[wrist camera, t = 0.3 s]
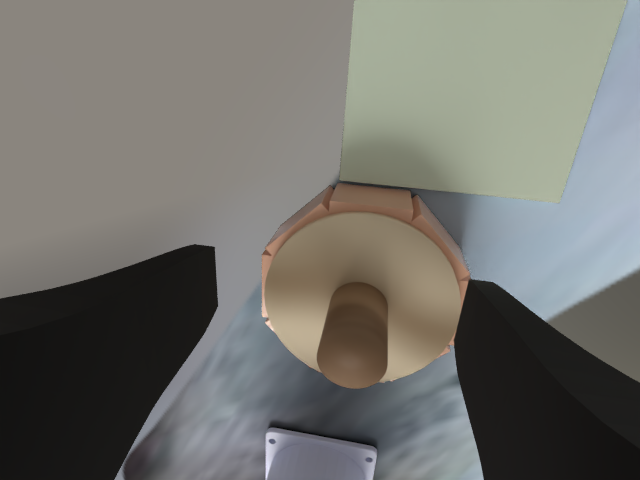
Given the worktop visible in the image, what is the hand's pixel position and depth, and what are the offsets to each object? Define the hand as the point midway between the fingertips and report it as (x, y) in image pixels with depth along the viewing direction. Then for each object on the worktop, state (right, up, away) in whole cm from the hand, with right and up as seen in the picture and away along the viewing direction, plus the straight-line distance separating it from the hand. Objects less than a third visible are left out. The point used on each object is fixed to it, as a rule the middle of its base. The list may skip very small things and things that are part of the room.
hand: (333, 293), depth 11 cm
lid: (+2, -2, +8) cm, 8 cm away
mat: (+6, +9, +6) cm, 12 cm away
